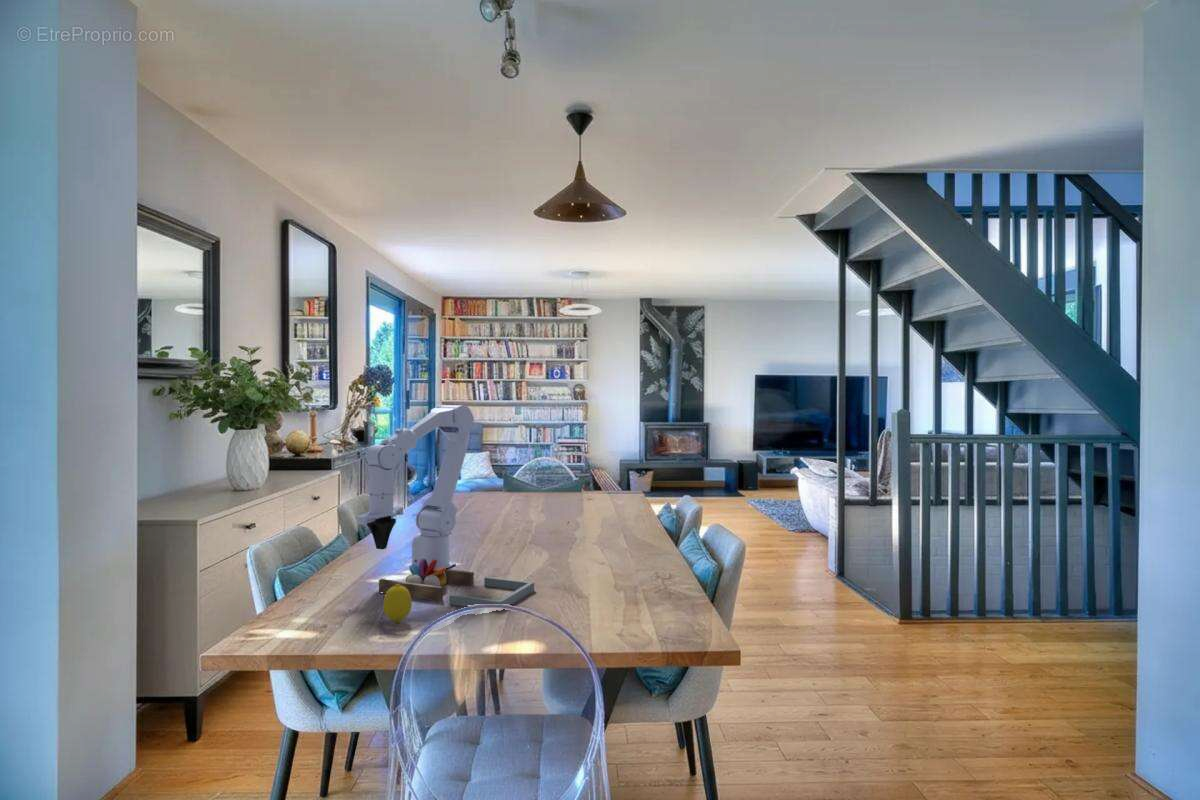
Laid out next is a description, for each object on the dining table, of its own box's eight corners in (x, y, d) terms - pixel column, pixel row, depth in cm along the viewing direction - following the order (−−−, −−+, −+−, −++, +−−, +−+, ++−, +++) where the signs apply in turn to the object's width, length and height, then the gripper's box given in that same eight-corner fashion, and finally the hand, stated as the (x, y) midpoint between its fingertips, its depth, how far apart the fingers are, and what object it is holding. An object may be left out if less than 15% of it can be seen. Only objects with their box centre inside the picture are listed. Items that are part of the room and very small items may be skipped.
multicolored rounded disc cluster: (441, 594, 155) (441, 563, 155) (400, 593, 155) (400, 562, 155) (450, 583, 163) (450, 554, 163) (411, 583, 163) (411, 554, 163)
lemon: (386, 618, 137) (386, 580, 137) (413, 618, 138) (413, 580, 138) (380, 628, 132) (380, 588, 132) (408, 627, 132) (408, 587, 132)
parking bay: (449, 604, 147) (449, 595, 147) (486, 584, 162) (486, 576, 162) (500, 611, 142) (500, 602, 142) (534, 590, 157) (534, 582, 157)
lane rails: (378, 592, 155) (378, 580, 155) (415, 577, 168) (415, 565, 168) (440, 601, 149) (440, 588, 149) (473, 584, 162) (473, 572, 162)
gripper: (374, 498, 155) (374, 556, 155) (413, 490, 168) (413, 543, 169) (350, 497, 157) (350, 554, 157) (390, 488, 171) (390, 541, 171)
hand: (381, 548), depth 163 cm, fingers closed
